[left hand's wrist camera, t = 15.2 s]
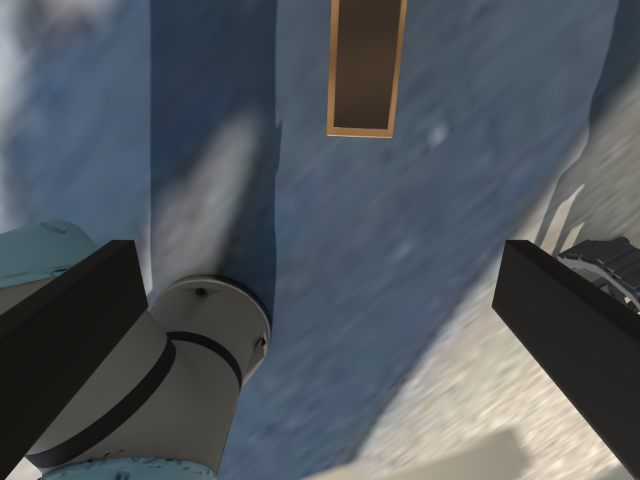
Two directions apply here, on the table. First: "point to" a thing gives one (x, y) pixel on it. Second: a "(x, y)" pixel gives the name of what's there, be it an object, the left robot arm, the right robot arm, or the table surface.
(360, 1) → the tray
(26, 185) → the table surface
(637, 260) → the toy
